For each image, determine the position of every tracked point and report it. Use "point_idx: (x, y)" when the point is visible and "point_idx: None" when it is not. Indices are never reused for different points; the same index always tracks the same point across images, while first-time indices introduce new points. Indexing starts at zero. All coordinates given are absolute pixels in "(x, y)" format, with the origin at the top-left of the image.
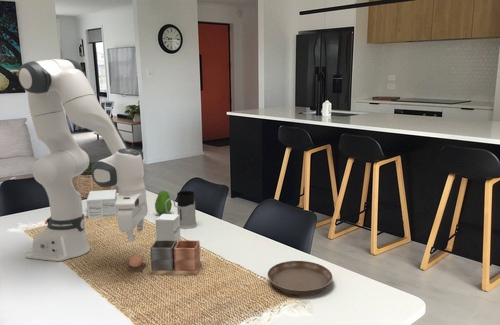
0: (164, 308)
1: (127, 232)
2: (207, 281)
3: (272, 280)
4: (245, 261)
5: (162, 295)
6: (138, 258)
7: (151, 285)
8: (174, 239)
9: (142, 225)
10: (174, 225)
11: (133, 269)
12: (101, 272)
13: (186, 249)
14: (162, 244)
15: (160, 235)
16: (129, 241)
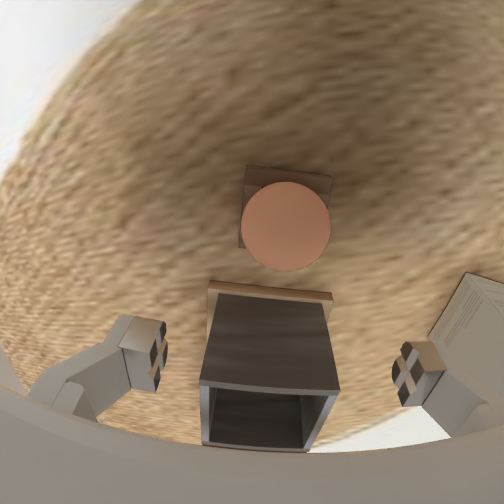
0: (21, 329)
1: (46, 387)
2: (169, 419)
3: None
4: None
5: (67, 327)
6: (254, 256)
7: (115, 294)
8: None
9: (428, 408)
10: None
11: (243, 204)
12: (244, 31)
13: None
14: (318, 396)
15: (489, 336)
16: (122, 318)
